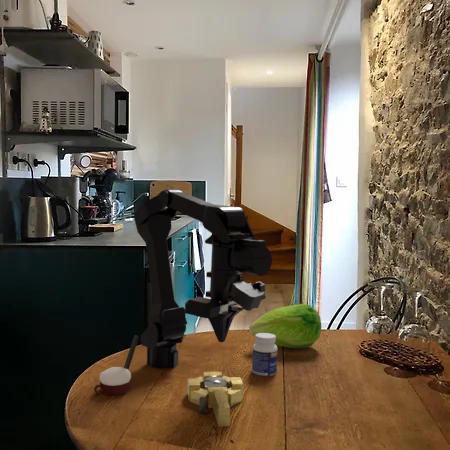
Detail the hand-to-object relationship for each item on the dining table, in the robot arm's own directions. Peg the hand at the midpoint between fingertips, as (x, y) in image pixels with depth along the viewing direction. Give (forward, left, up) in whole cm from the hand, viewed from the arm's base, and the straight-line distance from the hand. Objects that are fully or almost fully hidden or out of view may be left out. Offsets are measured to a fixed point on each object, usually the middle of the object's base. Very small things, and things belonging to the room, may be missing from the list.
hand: (221, 341), depth 111 cm
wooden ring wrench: (+2, -8, -10) cm, 13 cm away
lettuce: (+6, +38, -12) cm, 40 cm away
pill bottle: (+6, +14, -12) cm, 19 cm away
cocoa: (-20, -8, -12) cm, 24 cm away
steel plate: (0, -4, -11) cm, 12 cm away
